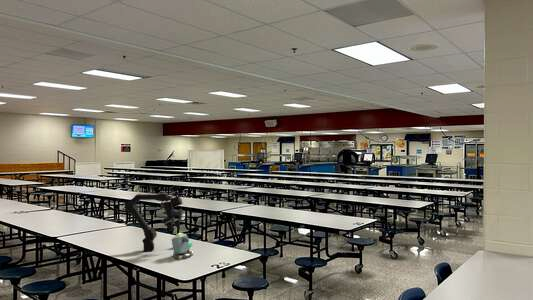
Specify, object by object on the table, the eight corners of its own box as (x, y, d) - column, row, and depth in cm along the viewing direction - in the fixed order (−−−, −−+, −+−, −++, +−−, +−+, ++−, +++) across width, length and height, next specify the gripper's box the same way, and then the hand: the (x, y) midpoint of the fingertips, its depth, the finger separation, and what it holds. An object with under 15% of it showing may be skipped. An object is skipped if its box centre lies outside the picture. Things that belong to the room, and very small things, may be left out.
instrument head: (172, 254, 243) (169, 235, 244) (183, 251, 252) (180, 232, 253) (184, 253, 238) (180, 233, 240) (194, 249, 247) (191, 230, 249)
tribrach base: (167, 257, 243) (167, 251, 243) (180, 252, 255) (180, 247, 255) (182, 260, 237) (182, 254, 237) (195, 255, 249) (195, 249, 249)
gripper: (172, 206, 249) (179, 228, 247) (184, 204, 267) (191, 224, 265) (158, 212, 251) (165, 234, 249) (171, 210, 269) (178, 230, 267)
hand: (176, 230), depth 257 cm, fingers open, 9 cm apart
